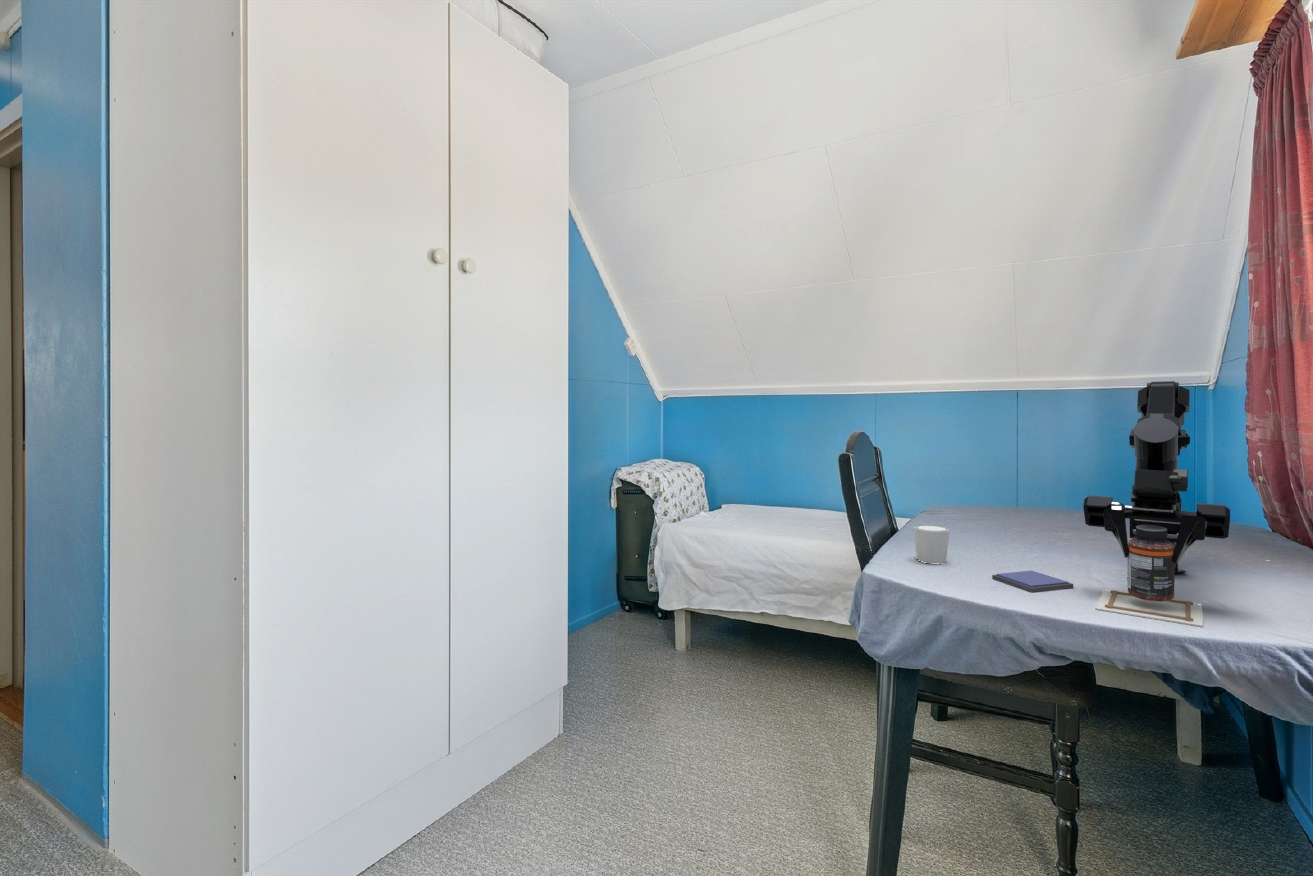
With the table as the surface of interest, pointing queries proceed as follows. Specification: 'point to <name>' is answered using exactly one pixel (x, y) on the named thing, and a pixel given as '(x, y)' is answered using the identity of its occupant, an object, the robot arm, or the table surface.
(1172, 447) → the robot arm
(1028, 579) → the ink pad
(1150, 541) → the supplement bottle
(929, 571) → the table surface
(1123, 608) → the marked sheet
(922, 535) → the white short cylinder
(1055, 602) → the table surface
